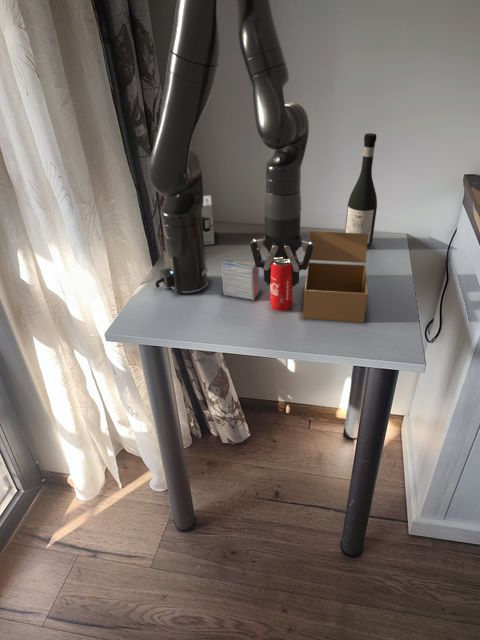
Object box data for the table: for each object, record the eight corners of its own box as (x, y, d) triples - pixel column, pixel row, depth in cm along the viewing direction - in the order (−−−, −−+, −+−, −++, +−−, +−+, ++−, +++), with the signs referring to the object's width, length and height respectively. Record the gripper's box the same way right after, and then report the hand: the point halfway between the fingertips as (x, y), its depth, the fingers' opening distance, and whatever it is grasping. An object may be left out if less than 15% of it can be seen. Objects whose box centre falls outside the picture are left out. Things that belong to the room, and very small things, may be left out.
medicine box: (259, 292, 119) (259, 260, 113) (253, 301, 115) (252, 268, 110) (230, 287, 121) (228, 255, 115) (223, 295, 117) (221, 263, 112)
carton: (306, 288, 120) (308, 262, 115) (361, 291, 118) (365, 265, 114) (303, 318, 109) (304, 290, 105) (363, 322, 107) (367, 294, 103)
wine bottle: (368, 251, 136) (383, 139, 118) (341, 247, 139) (351, 136, 121) (374, 240, 142) (389, 131, 124) (347, 236, 145) (358, 129, 126)
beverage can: (292, 312, 111) (294, 265, 104) (270, 312, 111) (270, 265, 104) (291, 300, 115) (293, 254, 108) (270, 300, 115) (270, 254, 108)
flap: (308, 259, 115) (308, 259, 115) (365, 262, 113) (365, 262, 114) (310, 231, 113) (310, 231, 113) (368, 233, 111) (368, 233, 112)
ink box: (198, 233, 147) (194, 195, 140) (214, 232, 148) (211, 194, 141) (198, 245, 140) (194, 206, 133) (214, 244, 141) (212, 205, 134)
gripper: (245, 217, 97) (248, 290, 107) (316, 219, 96) (312, 293, 106) (251, 203, 103) (252, 274, 113) (318, 206, 101) (313, 277, 112)
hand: (281, 283), depth 109 cm, fingers closed on beverage can, 5 cm apart
